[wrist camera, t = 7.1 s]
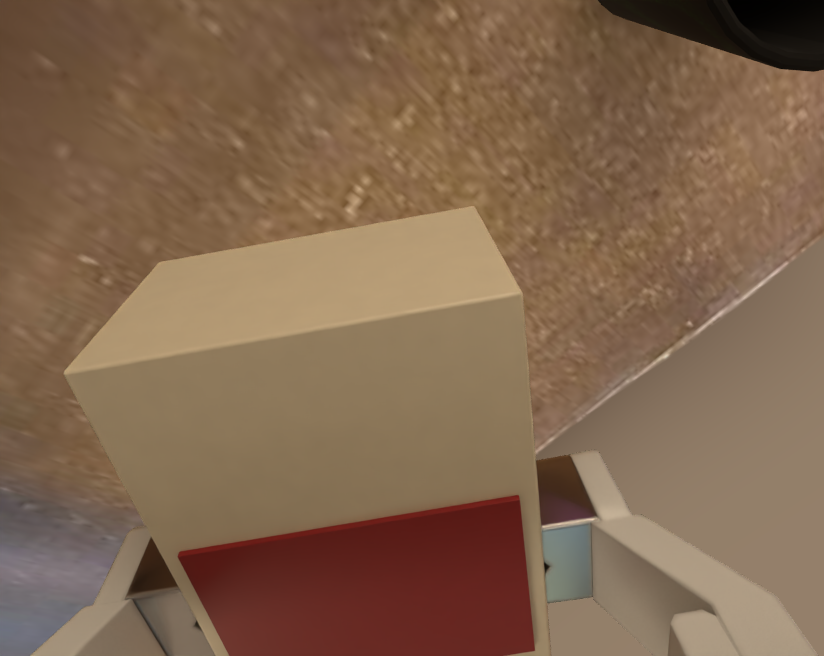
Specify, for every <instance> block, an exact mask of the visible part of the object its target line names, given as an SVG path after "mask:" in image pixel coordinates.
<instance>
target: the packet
mask: <svg viewBox="0 0 824 656" xmlns="http://www.w3.org/2000/svg"><path fill="white" fill-rule="evenodd" d="M64 376H65V378H66V380H67V382H68V384H69V386H70V387H71V389H72V391H73V393H74V395H75V397H76V399H77V400H78V402H79V404H80V406H81V408H82V410H83V411H84V413H85V415H86V417H87V419H88V421H89V423H90V424H91V426H92V428H93V430H94V432H95V434H96V435H97V437H98V439H99V441H100V443H101V445H102V447H103V448H104V450H105V452H106V454H107V456H108V458H109V459H110V461H111V463H112V465H113V467H114V469H115V471H116V472H117V474H118V476H119V478H120V480H121V482H122V483H123V485H124V487H125V489H126V491H127V493H128V495H129V496H130V498H131V500H132V502H133V504H134V506H135V507H136V509H137V511H138V513H139V515H140V517H141V519H142V520H143V522H144V524H145V526H146V528H147V530H148V531H149V533H150V535H151V537H152V539H153V541H154V542H155V544H156V546H157V548H158V550H159V552H160V554H161V555H162V557H163V559H164V561H165V563H166V565H167V566H168V568H169V570H170V572H171V574H172V576H173V578H174V579H175V581H176V583H177V585H178V587H179V589H180V590H181V592H182V594H183V596H184V598H185V600H186V602H187V603H188V605H189V607H190V609H191V611H192V613H193V614H194V616H195V618H196V620H197V622H198V624H199V626H200V627H201V629H202V631H203V633H204V635H205V637H206V638H207V640H208V642H209V644H210V646H211V648H212V650H213V651H214V653H215V655H216V656H551V645H550V633H549V619H548V607H547V595H546V582H545V569H544V557H543V544H542V531H541V518H540V505H539V492H538V480H537V467H536V454H535V442H534V429H533V416H532V404H531V391H530V378H529V366H528V353H527V340H526V328H525V315H524V302H523V293H522V291H521V290H520V288H519V286H518V284H517V282H516V281H515V279H514V277H513V275H512V273H511V272H510V270H509V268H508V266H507V264H506V262H505V261H504V259H503V257H502V255H501V253H500V252H499V250H498V248H497V246H496V244H495V243H494V241H493V239H492V237H491V235H490V234H489V232H488V230H487V228H486V226H485V225H484V223H483V221H482V219H481V217H480V215H479V214H478V212H477V210H476V208H475V207H473V206H471V207H466V208H460V209H454V210H449V211H443V212H438V213H432V214H426V215H421V216H415V217H410V218H404V219H398V220H393V221H387V222H382V223H376V224H370V225H365V226H359V227H354V228H348V229H343V230H337V231H331V232H326V233H320V234H315V235H309V236H303V237H298V238H292V239H287V240H281V241H275V242H270V243H264V244H259V245H253V246H247V247H242V248H236V249H231V250H225V251H219V252H214V253H208V254H203V255H197V256H191V257H186V258H180V259H175V260H169V261H164V262H159V263H158V264H157V265H156V266H155V268H154V269H153V270H152V271H151V272H150V273H149V274H148V276H147V277H146V278H145V279H144V280H143V281H142V282H141V284H140V285H139V286H138V287H137V288H136V289H135V291H134V292H133V293H132V294H131V295H130V296H129V297H128V299H127V300H126V301H125V302H124V303H123V304H122V305H121V307H120V308H119V309H118V310H117V311H116V312H115V313H114V315H113V316H112V317H111V318H110V319H109V320H108V321H107V323H106V324H105V325H104V326H103V327H102V328H101V330H100V331H99V332H98V333H97V334H96V335H95V336H94V338H93V339H92V340H91V341H90V342H89V343H88V344H87V346H86V347H85V348H84V349H83V350H82V351H81V352H80V354H79V355H78V356H77V357H76V358H75V359H74V360H73V362H72V363H71V364H70V365H69V366H68V367H67V368H66V370H65V371H64Z"/></svg>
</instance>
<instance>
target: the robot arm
mask: <svg viewBox="0 0 824 656" xmlns="http://www.w3.org/2000/svg"><path fill="white" fill-rule="evenodd" d="M536 467H537V480H538V492H539V505H540V518H541V531H542V544H543V557H544V569H545V582H546V595H547V603H553V602H561V601H568V600H576V599H583V598H590V597H593V600H594V601H595V602H596V603H598V604H599V605H600V606H601V607H602V608H603V609H604V610H605V611H606V612H607V613H608V614H609V615H611V616H612V617H613V618H614V619H615V620H616V621H617V622H618V623H619V624H620V625H621V626H622V627H624V629H626V630H627V631H628V632H629V633H630V634H631V635H632V636H633V637H634V638H635V639H636V640H637V641H638V642H639V643H641V644H642V645H643V646H644V647H645V648H646V649H647V650H648V651H649V652H650V653H651V654H652V655H653V656H818V655H817V653H816V652H815V650H814V649H813V647H812V646H811V645H810V643H809V642H808V640H807V639H806V638H805V636H804V635H803V633H802V632H801V630H800V629H799V628H798V626H797V625H796V623H795V622H794V620H793V619H792V618H791V616H790V615H789V613H788V612H787V611H786V609H785V608H784V606H783V605H782V603H781V602H780V600H779V599H778V598H777V596H776V595H774V594H772V593H771V592H769V591H768V590H766V589H764V588H763V587H761V586H759V585H758V584H756V583H754V582H753V581H751V580H749V579H748V578H746V577H744V576H742V575H741V574H739V573H738V572H736V571H735V570H733V569H731V568H730V567H728V566H726V565H724V564H723V563H721V562H720V561H718V560H716V559H715V558H713V557H711V556H710V555H708V554H706V553H705V552H703V551H702V550H700V549H698V548H697V547H695V546H693V545H692V544H690V543H688V542H687V541H685V540H683V539H681V538H680V537H678V536H677V535H675V534H673V533H672V532H670V531H668V530H667V529H665V528H664V527H662V526H660V525H659V524H657V523H655V522H654V521H652V520H650V519H649V518H647V517H645V516H644V515H642V514H639V515H633V514H632V513H631V511H630V509H629V507H628V505H627V503H626V501H625V499H624V498H623V496H622V494H621V492H620V490H619V489H618V487H617V485H616V483H615V481H614V479H613V477H612V475H611V473H610V472H609V470H608V468H607V466H606V464H605V462H604V460H603V458H602V456H601V455H600V453H599V452H598V451H597V450H589V451H584V452H579V453H573V454H569V455H564V456H558V457H553V458H547V459H541V460H536ZM30 656H216V655H215V653H214V651H213V650H212V648H211V646H210V644H209V642H208V640H207V638H206V637H205V635H204V633H203V631H202V629H201V627H200V626H199V624H198V622H197V620H196V618H195V616H194V614H193V613H192V611H191V609H190V607H189V605H188V603H187V602H186V600H185V598H184V596H183V594H182V592H181V590H180V589H179V587H178V585H177V583H176V581H175V579H174V578H173V576H172V574H171V572H170V570H169V568H168V566H167V565H166V563H165V561H164V559H163V557H162V555H161V554H160V552H159V550H158V548H157V546H156V544H155V542H154V541H153V539H152V537H151V535H150V533H149V531H148V530H147V528H146V526H142V527H135V528H133V529H132V530H131V531H130V532H129V533H128V534H127V535H126V537H125V539H124V541H123V543H122V545H121V548H120V550H119V552H118V554H117V556H116V558H115V560H114V562H113V564H112V566H111V568H110V570H109V572H108V575H107V577H106V579H105V581H104V583H103V585H102V587H101V589H100V591H99V593H98V595H97V597H96V599H95V601H94V604H93V605H92V606H87V607H84V608H83V609H81V610H80V611H79V612H78V613H77V614H76V615H75V616H74V617H73V618H71V619H70V620H69V621H68V622H67V623H66V624H65V625H64V626H63V627H61V628H60V629H59V630H58V631H57V632H56V633H55V634H54V635H53V636H51V637H50V638H49V639H48V640H47V641H46V642H45V643H44V644H42V645H41V646H40V647H39V648H38V649H37V650H36V651H35V652H34V653H32V654H31V655H30Z"/></svg>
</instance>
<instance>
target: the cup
mask: <svg viewBox="0 0 824 656" xmlns="http://www.w3.org/2000/svg"><path fill="white" fill-rule="evenodd" d="M598 1H599V2H600V3H601V5H602V6H604V7H605V8H606V9H607V10H609V11H610V12H611V13H612V14H614V15H617V16H619V17H622V18H624V19H627V20H630V21H633V22H636V23H639V24H642V25H645V26H649V27H652V28H655V29H658V30H661V31H664V32H667V33H670V34H673V35H677V36H680V37H683V38H686V39H689V40H692V41H695V42H698V43H701V44H705V45H708V46H711V47H714V48H717V49H720V50H723V51H726V52H729V53H733V54H736V55H739V56H742V57H745V58H748V59H751V60H754V61H757V62H761V63H764V64H767V65H770V66H773V67H776V68H779V69H788V70H801V71H819V70H824V0H598Z"/></svg>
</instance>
